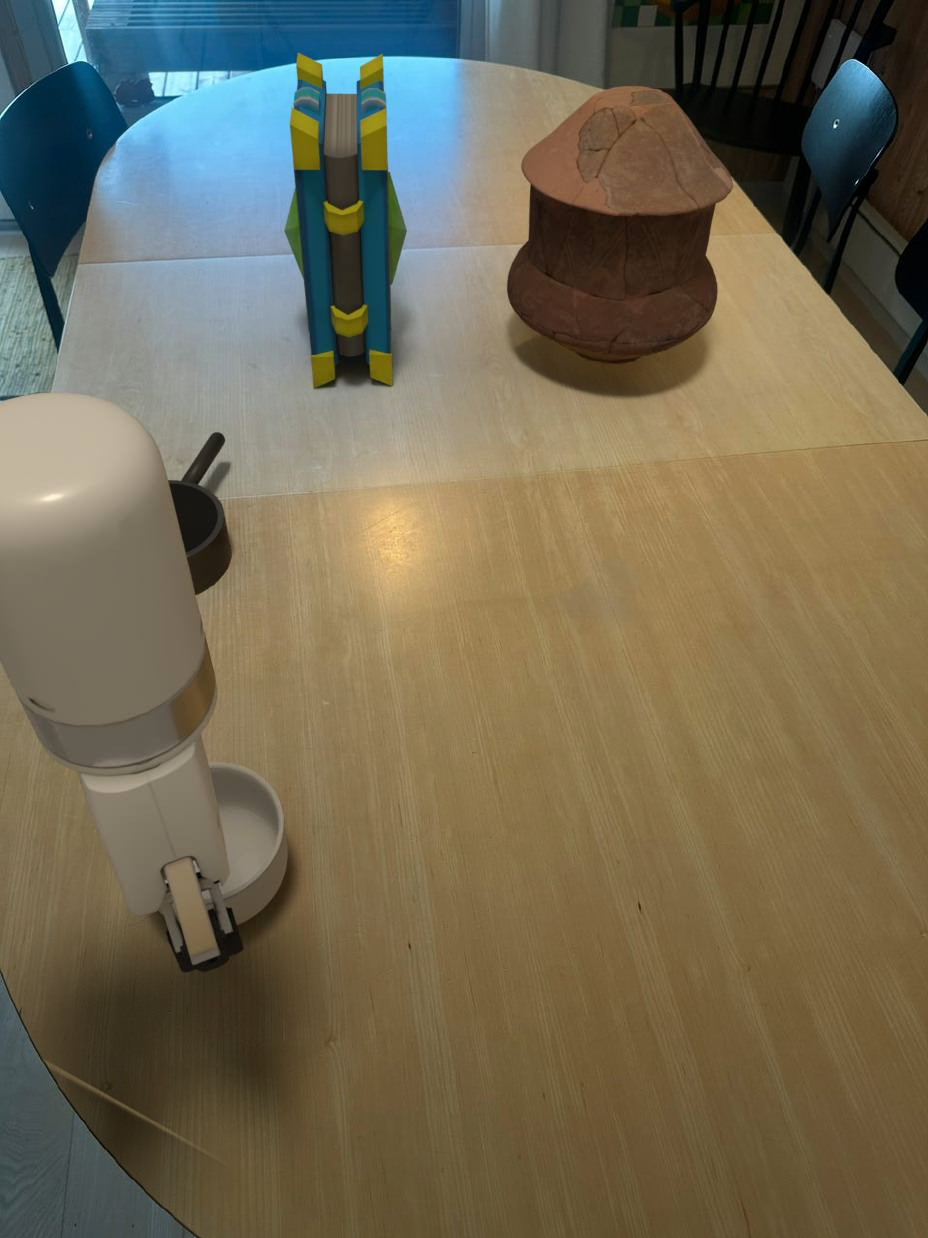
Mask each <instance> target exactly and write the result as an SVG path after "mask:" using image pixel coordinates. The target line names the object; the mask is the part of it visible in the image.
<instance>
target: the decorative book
mask: <svg viewBox="0 0 928 1238" xmlns="http://www.w3.org/2000/svg"><path fill="white" fill-rule="evenodd" d="M295 69H296V79H297V85H296V91H294V95H293V107H291V110H290V117H289V131H290V132H289V133H290V143H291V154H292V165H293V166H292V167H293V175H294V190H293V194H292V199H291V203H290V206H289V211H288V214H287V219H286V222H285V226H284V230H283V231H284V234H285V236H286V239H287V241H288V244H289V246H290V249H291V251H292V254H293V256H294V259H295V262H296V264H297V267H298V269H299V271H300V274H301V276H302V279H303V286H304V299H305V309H306V310H305V311H306V319H307V330H308V332H309V333H308V334H309V344H310V345H309V346H310V362H311V363H310V365H311V374H312V384H313V386H312V387H313V389H316V388H319V387H320V386H323V385H325V384H327V383H329V382H331V381H334V380H335V379H336V365H337V364H339V361H338V360H339V355H341V356H345V357H355V356H360V355H362V354H364V353H365V362H366V364H368V365H369V377H370V378H371V379H373V380H376V381H379V382H381V383H384V384H386V385H388V386H390V387H393V359H392V358H393V357H392V290H391V289H392V288H391V287H392V285H393V283H394V280H395V278H396V277H395V276H396V273H397V270H398V266H399V261H400V259H401V254H402V251H403V247H404V243H405V240H406V236H407V232H408V230H407V227H406V223H405V220H404V216H403V213H402V208H401V206H400V202H399V199H398V196H397V193H396V189H395V185H394V181H393V179H392V176H391V171H389V161H388V118H387V116H388V113H387V94H386V92H385V75H384V73H385V72H384V55H383V53H381V54H379V55H378V56H376V57H373V59H371V60H369V61H367V62H366V63H364V64H362V65H360V66H359V80H357V81H356V93H328V91H327V90H328V89H327V81H326V80H324V75H323V74H324V72H323V63H320V62H318V61H316V60H314V59H313V58H310V57H308V56H306V55H304V54H302V53H300V52H297V57H296V65H295Z"/></svg>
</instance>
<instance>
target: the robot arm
mask: <svg viewBox="0 0 928 1238" xmlns="http://www.w3.org/2000/svg"><path fill="white" fill-rule="evenodd" d="M168 480H169V478H168V474H167V470H166V467H165V464H164V460H163V457H162V455H161V452H160V449H159V446H158V444H157V443H156V441H155V439H154V436H153V435H152V434H151V433H150V432H149V430H148V429H147V428H146V427H145V425H144V424H143V423H142V422H141V421H140V419H139V418H137V417H136V416H135V415H133V414H132V413H130V411H128V410H126V409H125V408H123V406H121V405H119V404H116V403H114V402H112V401H109V400H107V399H104V398H100V397H97V396H93V395H88V394H82V393H75V392H65V391H64V392H63V391H51V392H37V393H32V394H25V395H20V396H17V397H16V396H15V397H12V398H8V399H5V400H2V401H0V664H1V667H2V668H3V670H4V672H5V674H6V676H7V679H8V680H9V682H10V684H11V686H12V688H13V690H14V692H15V694H16V696H17V698H18V700H19V702H20V704H21V706H22V708H23V711H24V713H25V714H26V716H27V718H28V720H29V722H30V725H31V726H32V729H33V731H34V733H35V735H36V737H37V740H38V742H39V744H40V745H41V747H42V748H43V751H45V752H46V753H47V754H48V755H49V756H50V758H52V759H53V760H54V761H56V763H57V762H58V763H59V764H60V765H62V766H63V767H65V768H67V769H69V770H73V771H75V772H76V773H77V777H78V780H79V783H80V785H81V786H80V787H81V789H82V792H83V795H84V798H85V801H86V803H87V806H88V809H89V812H90V814H91V817H92V820H93V823H94V825H95V828H96V831H97V832H98V836H99V838H100V840H101V843H102V846H103V848H104V850H105V854H106V856H107V858H108V861H109V863H110V866H111V868H112V871H113V873H114V876H115V878H116V880H117V884H118V886H119V888H120V891H121V894H122V896H123V899H124V902H125V905H126V906H127V909H128V911H130V913H132V914H134V915H136V916H138V917H143V916H147V915H149V914H154V913H156V912H159V911H158V910H159V908H160V906H161V908H162V911H163V914H164V915H163V917H164V920H165V923H166V927H167V929H168V930H165V934H166V938H167V941H168V944H169V947H170V949H171V950H172V953H173V955H174V957H175V960H176V962H177V964H178V967H179V969H180V971H181V972H182V974H183V973H184V974H187V973H191V972H193V971H198V972H200V973H201V972H202V973H205V972H210V971H212V970H215V969H217V968H220V967H222V966H224V965H226V964H227V963H228V961H229V960H230V957H233V956H234V955H237V954H239V953H241V952H242V951H244V949H245V947H244V943H243V941H242V937H241V933H240V929H239V927H238V925H237V924H236V921H235V917H234V914H233V911H232V907H230V908H228V907H226V906H225V903H224V900H223V897H222V893H221V890H220V887H219V883H220V884H221V887H222V886H223V885H224V884H225V882H226V881H227V879H228V877H229V874H230V869H229V863H228V857H227V851H226V846H225V840H224V835H223V830H222V825H221V819H220V814H219V809H218V804H217V800H216V795H215V790H214V786H213V781H212V777H211V772H210V768H209V764H208V762H209V761H208V756H207V753H206V748H205V744H204V740H203V737H202V733H203V732H204V730H205V728H206V727H207V726H208V725H209V723H210V721H211V719H212V717H213V715H214V712H215V709H216V706H217V701H218V683H217V677H216V674H215V670H214V669H215V668H214V665H213V662H212V657H211V652H210V648H209V645H208V641H207V636H206V632H205V629H204V625H203V624H204V623H203V620H202V616H201V612H200V607H199V604H198V599H197V594H196V595H195V591H194V587H193V582H192V578H191V573H190V569H189V565H188V561H187V557H186V552H185V548H184V544H183V540H182V536H181V532H180V528H179V523H178V519H177V515H176V511H175V507H174V503H173V498H172V494H171V490H170V486H169V482H168ZM194 860H195V861H196V864H197V867H198V869H199V870H200V872H197V873H196V871H195V867H194V864H193V861H194ZM165 880H168V883H165ZM206 890H209V893H210V896H211V899H212V903H213V906H214V908H212V909H209V910H207V908H206V904H205V901H204V898H203V894H202V892H203V891H206ZM174 904H175V906H174ZM175 907H176V909H175ZM214 909H215V911H214ZM176 911H177V912H176ZM177 914H178V915H177Z"/></svg>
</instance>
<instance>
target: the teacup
mask: <svg viewBox="0 0 928 1238" xmlns="http://www.w3.org/2000/svg"><path fill="white" fill-rule="evenodd" d="M208 764H209V768H210V772H211V777H212V781H213V786H214V790H215V795H216V800H217V804H218V809H219V814H220V819H221V825H222V830H223V835H224V840H225V846H226V851H227V857H228V863H229V869H230V874H229V877H228V879H227V881H226V882H225V884H224V885H223V886H222V887H221V884H220V883H219V887H220V890H221V893H222V897H223V900H224V903H225V906H226V907H228V908H230V907H232V911H233V914H234V917H235V921H236V924H237V926H238V925H239V926H240V925H241V924H243V923H245V922H247V921H249V920H250V919H252V918H253V917H255V916H256V915H258V914H259V913H260V912H261V911H262V910H264V909H265V907H266V906H268V904H269V903H270V902H271V901H272V900H273V898H274V897H275V896H276V894H277V892H278V890H279V889H280V887H281V885H282V883H283V880H284V877H285V874H286V872H287V871H286V870H287V866H288V859H289V858H288V855H289V848H288V837H287V831H286V818H285V817H286V816H285V812H284V808H283V805H282V803H281V799H280V797H279V796H278V793H277V791H276V790H275V788H274V787H273V786H272V785H271V784H270V783H269V782H268V780H267V779H265V778H264V776H263V775H261V774H259V773H258V772H256V771H255V770H252V769H251V768H249V767H246V766H243V765H241V764H238V763H232V762H229V761H225V762H223V761H208ZM193 864H194V867H195V871H196V873H197V872H200V870H199V869H198V867H197V864H196V861H195V860H194V861H193ZM165 883H168V880H165ZM202 894H203V898H204V901H205V904H206V908H207V910H209V909H212V908H214V906H213V903H212V899H211V896H210V893H209V890H206V891H203V892H202ZM174 906H175V904H174ZM175 909H176V907H175ZM214 911H215V909H214ZM157 912H159V914H161V915H162V916H164V914H163V911H162V908H161V906H160V908H159V910H158V911H157ZM176 912H177V911H176ZM177 915H178V914H177Z"/></svg>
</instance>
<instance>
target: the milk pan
mask: <svg viewBox="0 0 928 1238" xmlns="http://www.w3.org/2000/svg"><path fill="white" fill-rule="evenodd" d="M225 443H226V436H224V434H223V433H221V432H219V431H215V432H213V433H211V434H210V436H209V437H208V439H207V440H206V441H205V443H204V444H203V447H202V448H201V450H199V452H198V454H197V456H196V457H195V459H194V460H193V462H192V463H191V465H190V466H189V468H188V469H187V470H186V472H185V474H184V475H183V477H182V478H181V479H180V480H177V479H168V482H169V486H170V490H171V494H172V498H173V503H174V507H175V511H176V515H177V519H178V523H179V528H180V532H181V536H182V540H183V544H184V548H185V552H186V557H187V561H188V565H189V569H190V573H191V578H192V582H193V587H194V591H195V595H196V596H197V595H199V594H201V593H203V592H204V591H206V590H208V589H209V588H211V587H212V586H213V585H215V584H216V583H217V582H218V581H219V580H220V579H221V578H222V577H223V576H224V575H225V573H226V571H228V568H229V566H230V563H231V559H232V548H231V547H232V546H231V541H230V535H229V530H228V526H227V519H226V516H225V510H224V507H223V504H222V502H221V501H220V499H219V498H218V497H217V496H216V495H215V494H214V493H213V492H212V491H211V490H209V489H208V488H206V487H204V486H202V485H200V482H201V481H202V479H203V478H204V477H205V475H206V473H207V472H208V470H209V469H210V467H211V465H212V464H213V462H214V460H215V459H216V457H217V456H218V455H219V453H220V451H221V450H222V448H223V447H224V445H225Z"/></svg>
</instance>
